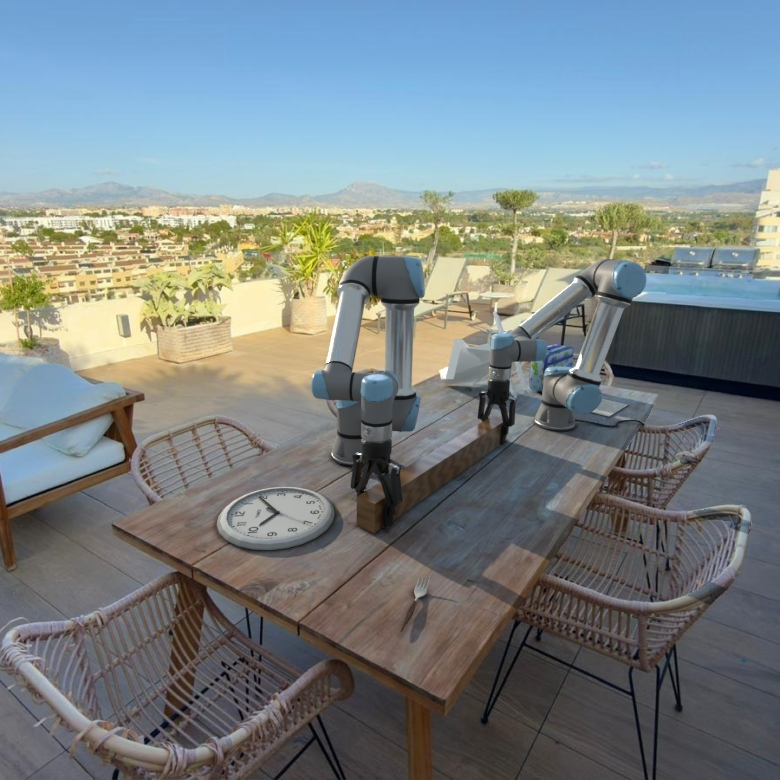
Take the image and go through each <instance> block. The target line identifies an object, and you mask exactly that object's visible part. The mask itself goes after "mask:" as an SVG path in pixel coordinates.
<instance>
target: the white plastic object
mask: <svg viewBox="0 0 780 780" xmlns="http://www.w3.org/2000/svg"><path fill="white" fill-rule="evenodd" d="M492 315H493V319H494V321H495V324H496V325H495V326H496V328H497V332H498V333H504V332H505V331H504V328H503V325H502V321H501V318H500V315H499V314H498V312H497V311H496V310H495V311H492ZM490 346H491V344H489V343H488V342H487V343H483V344H479V345H473V346H469V345H468V343H466V342H465V340H464V339H463V338H460V339H458V338H454V340H453V344H452V349H451V353H450V357H449V362H448V366H446V367H444V368H442V369H440V370H439V371H438V372H439V376H440V381H442V383H443V384H444V385H445V386H449V385H458V384H467V383H468V384H469V383H473V384H477V383H480V382H482V381H484V378H485V377H486V376H488V375H489V363H490ZM513 363H514V366H515V369H516V372H517V376H518V380H519V382H520V385H521V389H522V391H523V393H524V395H525V396H526V397H528V396H531V395H530V389H529V388H528V387H529V386H528V384H527V381H526V378H525V375H524V371H523V369H522V368H523V367H522V366H521V362H513ZM509 380H510V389H509V393H510V394H511V395H512V397H513V398H516V399H517V392H516V391H517V390H516V388H515V385H514V381H513V378H512V377H511V378H510V379H509Z"/></svg>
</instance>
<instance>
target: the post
mask: <svg viewBox="0 0 780 780" xmlns="http://www.w3.org/2000/svg"><path fill="white" fill-rule="evenodd" d="M502 426H503V420H502V416H499V415H495V414H493V415H491V416H489V418H488V419H486V420H485V421H483V422H482V421H481V422H480V423H478V424H476V425H475V426H473V427H471V428H469V429H468V430H466V431H464V432H463V433H461V434H459V435H458V436H456V437H455V438H453V439H451V440H449V441H447V442H446V443H444V444H442V445H441V446H439V447H438V448H436V449H434V450H432V451H431V452H429V453H428V454H426V455H424V456H423V457H421V458H419V459H417V460H416V461H414V462H413V463H411V464H409V465H407V466H405V467H403V469H402V468H401V472H400V479H401V489H402V498H403V501H402V502H401V503H399V504H398V505H396V507H395V515H393V521H395V520H396V519H397V518H399V517H400V516H402V515H403V514H405V513H406V512H407V511H409V510H410V509H412V508H413V507H415V506H416V505H418V504H419V503H420V502H422V501H423V500H425V498H427V497H429V496H430V495H431V494H433V493H434V492H436V491H437V490H438V489H440V488H441V487H443V486H444V485H445V484H447V483H449V482H450V481H451V480H452V479H454V478H456V477H457V476H458V475H459V474H461V473H463V472H464V471H465V470H467V469H468V468H470V467H471V466H472V465H474V464H475V463H476V462H478V461H480V460H481V459H482V458H484V457H485V456H487V455H488V454H489V453H491V452H492V451H493V450H495V449H496V448H498V447H499V446H501V444H500V437H501V427H502ZM507 438H508V435H506V438H505V442H506V441H507ZM364 491H365V490H364ZM386 503H387V501H386V498H385V495H384V491H383V488H382V485H381V482H379V483H377V484H375V485H374V486H372V487H370V488H369V489H366V491H365V492H364V493H362V494H360V495H359V496H357V495H356V527H358V528H360V529H363V530H365V531H367V532H369V533H372V534H373V535H374V534H376V533H378V532H379V531H380V530H382V529H384V505H385V504H386Z"/></svg>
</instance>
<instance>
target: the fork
mask: <svg viewBox="0 0 780 780" xmlns="http://www.w3.org/2000/svg"><path fill="white" fill-rule="evenodd" d="M420 577H421V573H420V574H419V576H418V579H417V583H416V585H415V586H414V591H413V594H414V595H415V599H414V600H413V602H412V603H411V605H409V608H408V609H407V610H406V613H405V617H404V620H403V623H402V625H401V629H400V633H402V632H403V631H404V629H405V627H406V625H408V622H409V621H410V619H411V618H412V616H413V614H414V611H415V608H416V605H417V601H418V599H419V598H422V597H425V596H426V595H427V593H428V589H429V584H430V580H431V576H429V578H428V580H427V577H428V576H427V575H425V579H424V574H422V578H420ZM420 579H421V581H420ZM423 580H424V582H423ZM426 583H427V584H426Z"/></svg>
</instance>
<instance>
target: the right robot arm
mask: <svg viewBox="0 0 780 780" xmlns="http://www.w3.org/2000/svg"><path fill="white" fill-rule="evenodd" d="M646 285H647V274H646V272H645V270H644V268H643V266H641V265H640V264H639V263H638V262H635V261H631V260H623V259H612V258H604V259H600V260H598V261H596V262H594V263H593V264H591V265H589V266H588V267H586V268H585V269H584V270H582V271H581V272H579V273H578V274H577V275H576V276H575V277H574V278H573V279H572V283H570V285H568V286H567V287H565V288H564V289H563V290H562V291H561V292H559V293H557V295H555V296H554V297H553V298H551V300H549V301H548V302H546V303H545V304H544V305H543V306H541V307H540V308H539V309H538V310H537V311H535V312H534V313H533V314H532V315H530V316H529V317H528V318H526V319H525V320H524V321H523V322H522V323H520V324H519V325H518V326H516V328H514V329H509V330H505V331H504V333H499V332H497V333H494V334H493V335H491V339H490V363H489V374H487V376H488V379H487V390H485V391H484V390H482V391H481V392H479V393H478V398H479V402H478V409H477V416H476V417H477V419H478V420H480V421H481V422H483V421H485V420H486V419H488V418H490V415H491V412H492V410H493V409H494V408H493V407H494V405H496V406H498V408H499V410H500V415H501V417H502V420H503V426H502V427H501V437H500V445H504V444H505V443H506V441H505V438H506V435H507V436H508V435H509V430H510V427H511V428H512V427H513V426H514V425H515V423H516V404H517V402H518V399H517V398H515V397H513V396H511V395H510V394H511V393H510V390H509V389H510V380H509V379H510V378H512V368H513V367H512V366H513V363H514V362H520V363H523V362H524V363H526V362H528V363H529V362H530V363H531V361H534V362H536V361H542V360H544V359H545V358H546V356H547V351H548V348H547V346H548V344H547V341H545V339H538V337H539V336H541V335H542V334H544V333H545V332H546V331H547V330H548V329H550V328H551V327H552V326H554V325H555V324H556V323H557V322H559V321H560V320H561V319H562V318H563V317H565V316H566V315H567V314H569V313H570V312H571V311H573V310H574V309H575V308H576V307H578V306H579V305H580V304H581V303H583V302H584V301H585V300H591V299H592V298H593V297H595V298H596V300H597V305H596V308H595V310H594V313H593V316H592V319H591V321H590V324H589V326H588V330H587V333H586V336H585V338H584V341H583V343H582V346H581V349H580V351H579V355H578V358H577V360H576V363H575V365H574V367H573V366H572V367H559V366H558V367H548V368H547V369H546V370H545V373H544V382H543V391H542V392H541V393H542V394H541V402H540V405H539V407H538V410H537V411H536V413H535V417H534V424H535V425H536V426H537V427H539V428H542V429H544V430H549V431H556V432H567V431H572V430H574V429H575V428H576V422H579V423H586V424H591V425H597V426H600V427H604V428H605V427H606V428H616V427H618V426H619V423H627V422H635V423H639V424H640V425H642V426H646V424H645V423H644V422H642V421H641V420H638V419H622V420H621V419H620V420H618V421H617V422H616V423H615V424H613V425H612V424H610V425H609V424H604V423H600V422H594V421H588V420H584V419H583V420H582V419H576V418H575V417H576V416H575V414H578V415H587V414H590V413H592V411H594V410H595V409H596V408H597V407H598V406H599V405H600V403H601V401H602V399H603V393H602V390H601V388H600V386H601V384H602V381H603V380H602V378H601V376H600V374H601V371H602V368H603V366H604V363H605V360H606V357H607V355H608V352H609V350H610V347H611V344H612V342H613V339H614V336H615V334H616V331H617V328H618V326H619V323H620V320H621V317H622V315H623V312H624V310H625V309H626V308H629V306H631V305H632V303H633V300H634V298H636V297H638V296H639V295H641V294H642V293H643V291H644V290H645V288H646ZM487 398H488V402H487V405H486V400H487ZM507 401H508V404H509V406H508V408H507Z"/></svg>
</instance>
